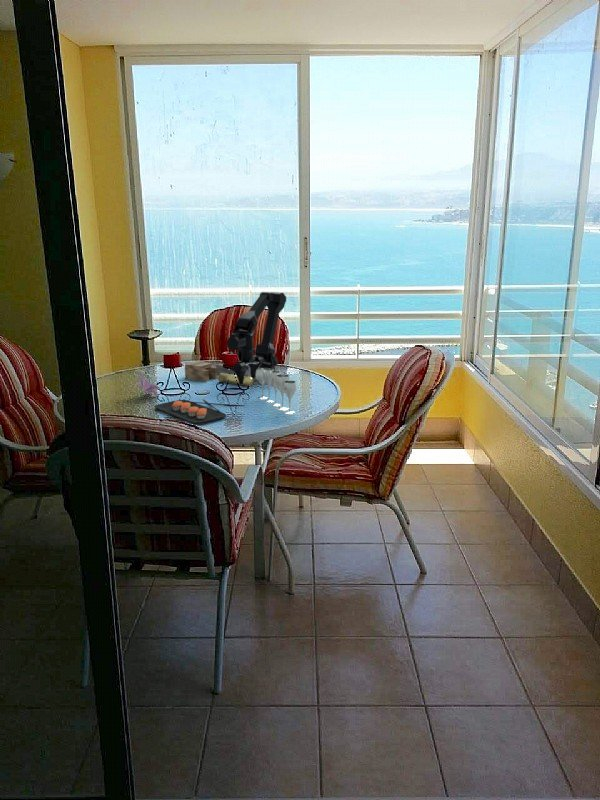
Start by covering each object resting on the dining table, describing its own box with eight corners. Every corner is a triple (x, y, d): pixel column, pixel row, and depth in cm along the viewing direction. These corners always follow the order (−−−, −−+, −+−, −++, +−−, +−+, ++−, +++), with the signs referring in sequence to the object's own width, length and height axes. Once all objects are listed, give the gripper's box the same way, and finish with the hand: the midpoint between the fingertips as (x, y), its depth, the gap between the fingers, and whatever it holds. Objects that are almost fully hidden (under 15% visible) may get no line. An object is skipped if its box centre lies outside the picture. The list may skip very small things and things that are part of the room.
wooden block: (217, 378, 286) (217, 364, 284) (206, 381, 279) (206, 367, 277) (196, 374, 291) (195, 361, 290) (185, 378, 285) (184, 364, 283)
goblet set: (299, 413, 236) (299, 378, 232) (285, 415, 233) (286, 380, 230) (265, 395, 259) (265, 363, 256) (253, 397, 257) (252, 365, 253)
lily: (161, 403, 250) (167, 380, 252) (133, 395, 244) (139, 371, 246) (151, 405, 260) (157, 383, 262) (124, 397, 254) (130, 375, 256)
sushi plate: (151, 410, 239) (151, 400, 238) (215, 396, 259) (215, 387, 258) (196, 428, 219) (196, 418, 218) (261, 411, 240) (261, 401, 238)
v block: (252, 372, 297) (252, 364, 296) (240, 377, 288) (240, 368, 287) (228, 369, 303) (227, 360, 302) (215, 373, 295) (215, 364, 294)
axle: (253, 386, 275) (254, 377, 274) (248, 386, 271) (249, 377, 271) (223, 381, 282) (223, 372, 282) (217, 382, 279) (218, 373, 278)
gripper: (242, 341, 281) (243, 375, 285) (218, 348, 265) (219, 384, 270) (264, 343, 276) (264, 378, 280) (240, 351, 260) (240, 387, 265)
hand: (246, 381), depth 274 cm, fingers open, 9 cm apart
